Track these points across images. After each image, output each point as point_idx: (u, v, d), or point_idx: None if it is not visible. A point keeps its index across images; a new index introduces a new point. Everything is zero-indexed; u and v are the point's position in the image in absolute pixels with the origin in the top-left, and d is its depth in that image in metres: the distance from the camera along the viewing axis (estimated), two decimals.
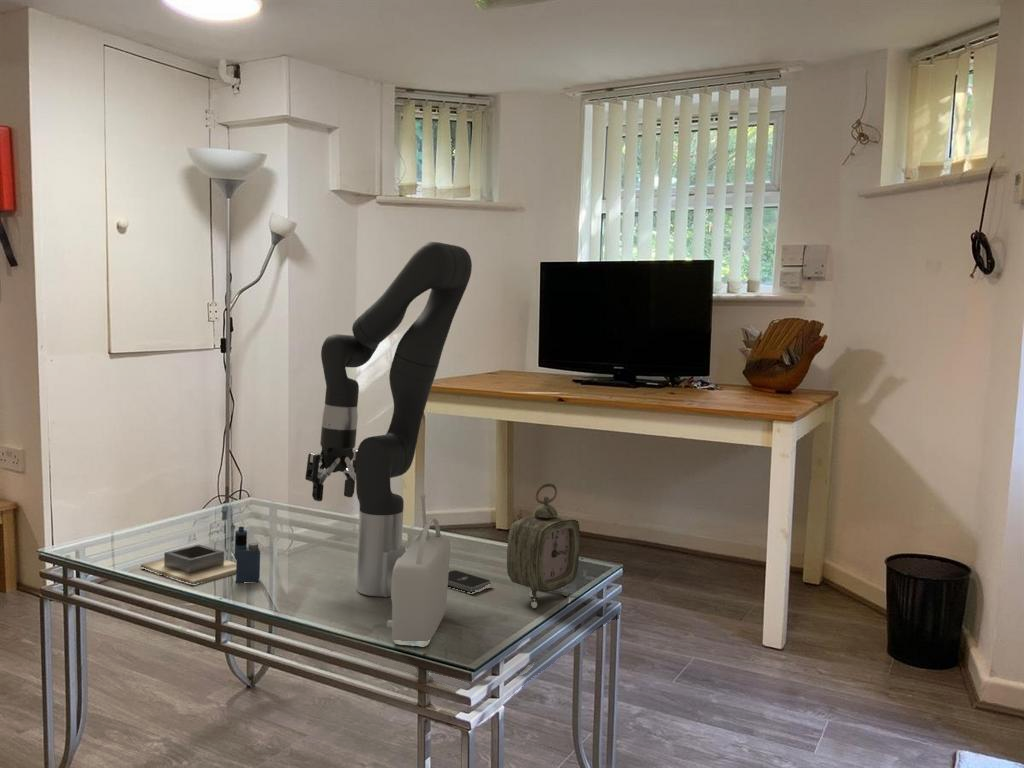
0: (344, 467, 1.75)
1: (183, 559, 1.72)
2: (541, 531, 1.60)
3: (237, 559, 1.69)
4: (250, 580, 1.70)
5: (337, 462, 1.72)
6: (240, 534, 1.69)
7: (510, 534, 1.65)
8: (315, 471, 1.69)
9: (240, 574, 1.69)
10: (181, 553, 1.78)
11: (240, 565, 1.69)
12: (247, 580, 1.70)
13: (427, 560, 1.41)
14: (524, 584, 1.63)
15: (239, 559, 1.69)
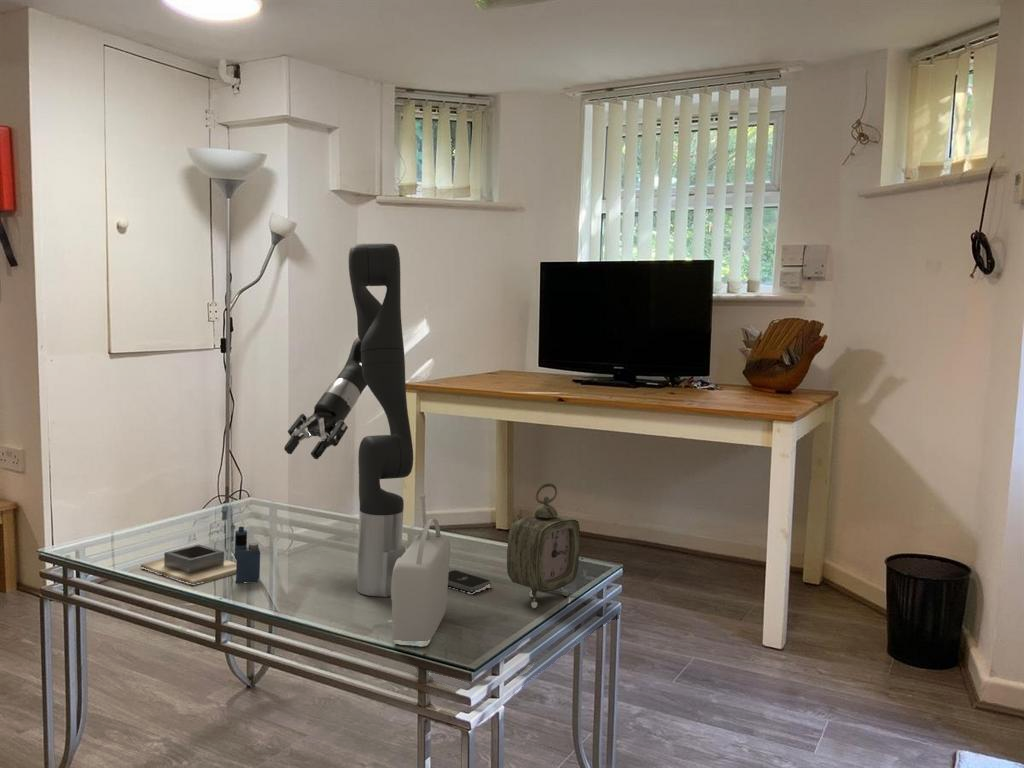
0: (319, 428, 1.84)
1: (183, 559, 1.72)
2: (541, 531, 1.60)
3: (237, 559, 1.69)
4: (250, 580, 1.70)
5: (312, 420, 1.85)
6: (240, 534, 1.69)
7: (510, 534, 1.65)
8: (294, 425, 1.88)
9: (240, 574, 1.69)
10: (181, 553, 1.78)
11: (240, 565, 1.69)
12: (247, 580, 1.70)
13: (426, 560, 1.41)
14: (524, 584, 1.63)
15: (239, 559, 1.69)
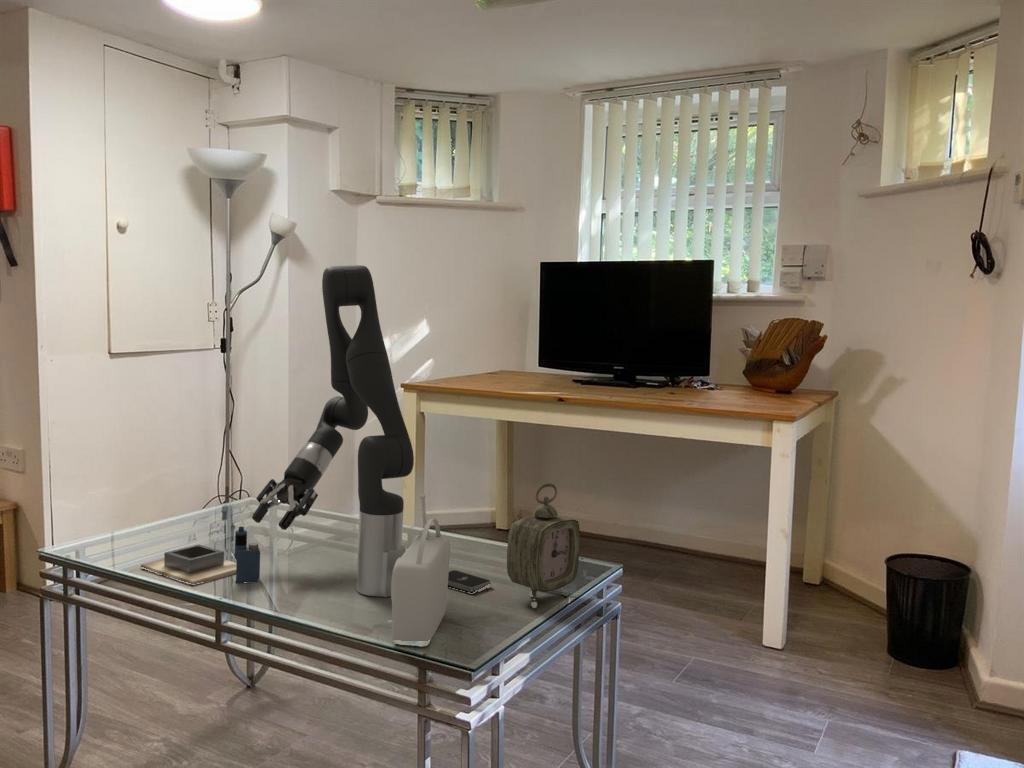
0: (288, 496, 1.77)
1: (183, 559, 1.72)
2: (541, 531, 1.60)
3: (237, 559, 1.69)
4: (250, 580, 1.70)
5: (281, 487, 1.79)
6: (240, 534, 1.69)
7: (510, 534, 1.65)
8: (263, 491, 1.81)
9: (240, 574, 1.69)
10: (181, 553, 1.78)
11: (240, 565, 1.69)
12: (247, 580, 1.70)
13: (427, 560, 1.41)
14: (524, 584, 1.63)
15: (239, 559, 1.69)
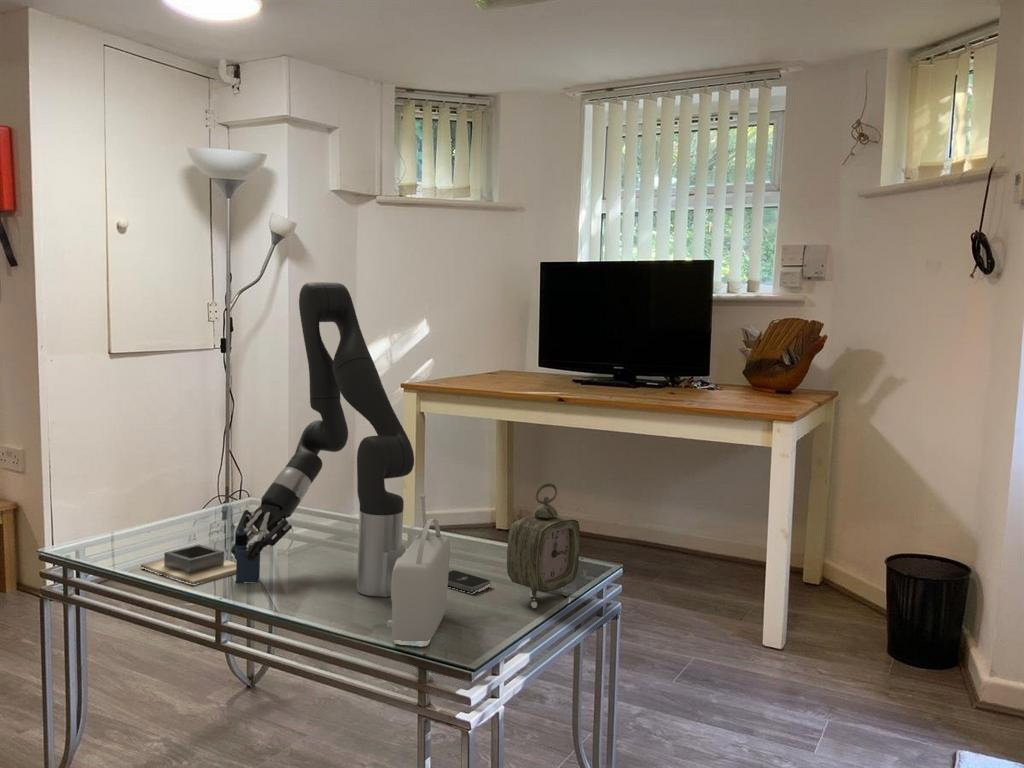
0: None
1: (183, 559, 1.72)
2: (541, 531, 1.60)
3: (237, 559, 1.69)
4: (250, 580, 1.70)
5: (258, 513, 1.74)
6: (240, 534, 1.69)
7: (510, 534, 1.65)
8: (240, 523, 1.75)
9: (240, 574, 1.69)
10: (181, 553, 1.78)
11: (240, 565, 1.69)
12: (247, 580, 1.70)
13: (426, 560, 1.41)
14: (524, 584, 1.63)
15: (239, 559, 1.69)
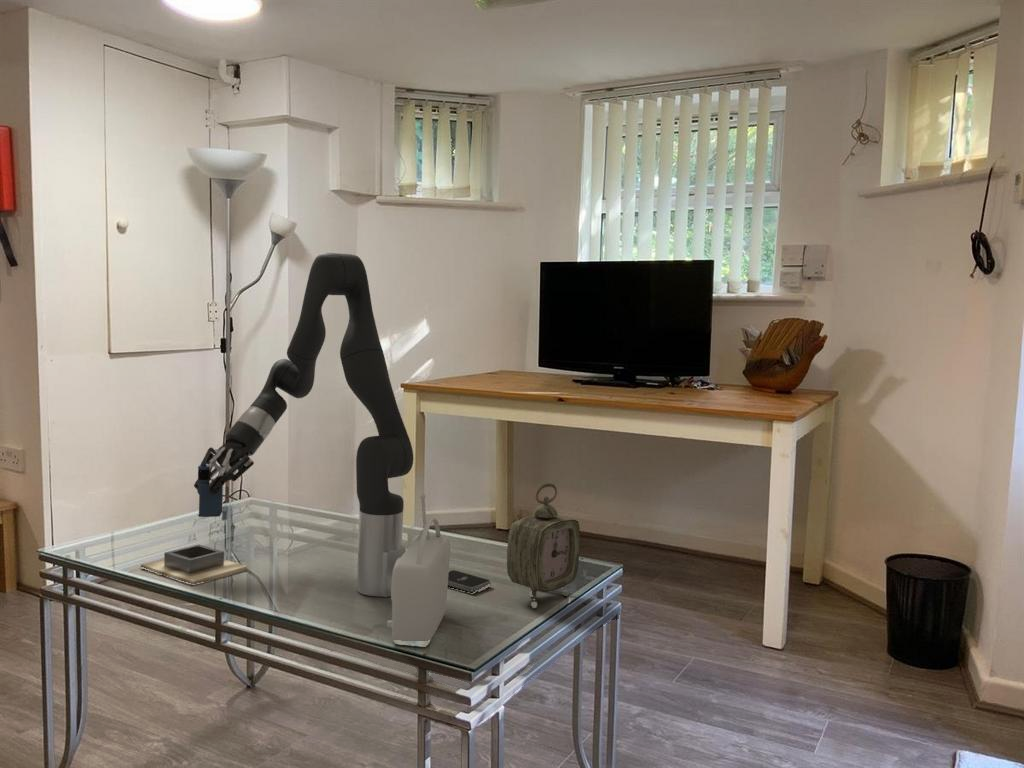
0: None
1: (183, 559, 1.72)
2: (541, 531, 1.60)
3: (200, 493, 1.73)
4: (212, 514, 1.75)
5: (221, 450, 1.78)
6: (202, 469, 1.73)
7: (510, 534, 1.65)
8: (204, 459, 1.79)
9: (202, 507, 1.74)
10: (181, 553, 1.78)
11: (202, 499, 1.74)
12: (209, 514, 1.74)
13: (426, 560, 1.41)
14: (524, 584, 1.63)
15: (201, 493, 1.73)
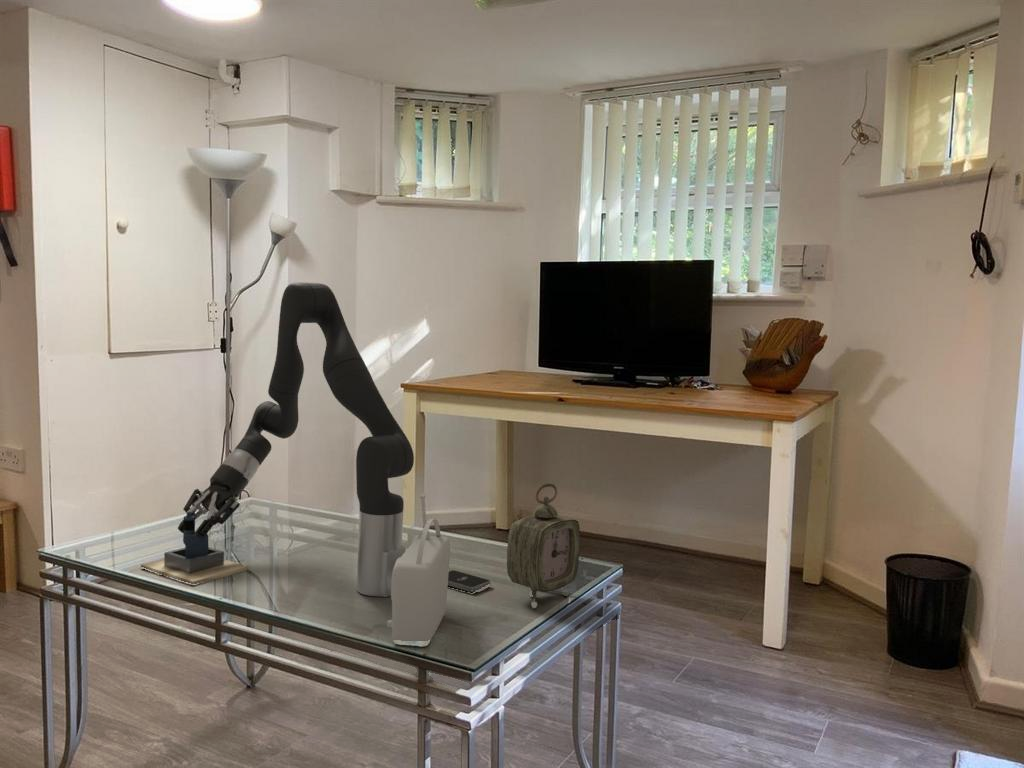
0: None
1: (183, 559, 1.72)
2: (541, 531, 1.60)
3: (186, 543, 1.75)
4: None
5: (206, 493, 1.80)
6: (188, 519, 1.75)
7: (510, 534, 1.65)
8: (189, 501, 1.81)
9: (189, 557, 1.75)
10: (181, 553, 1.78)
11: (189, 549, 1.75)
12: None
13: (426, 560, 1.41)
14: (524, 584, 1.63)
15: (188, 543, 1.75)
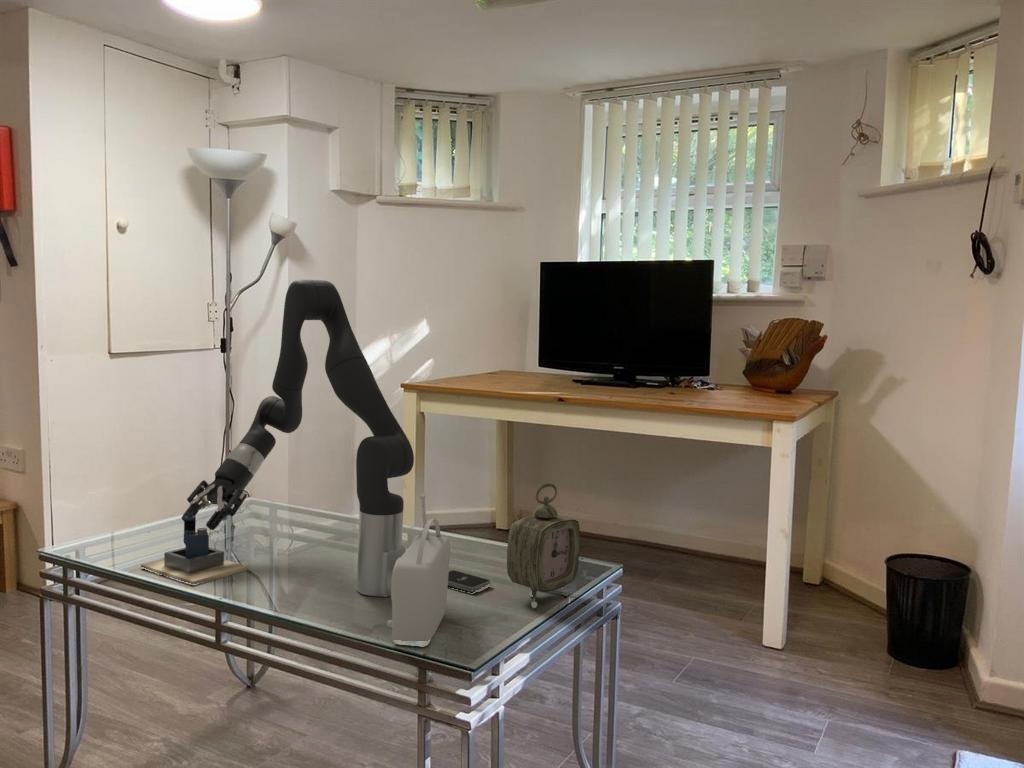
0: (217, 497, 1.79)
1: (183, 559, 1.72)
2: (541, 531, 1.60)
3: (186, 543, 1.75)
4: None
5: (211, 487, 1.81)
6: (189, 519, 1.75)
7: (510, 534, 1.65)
8: (193, 492, 1.83)
9: (189, 557, 1.75)
10: (181, 553, 1.78)
11: (189, 549, 1.75)
12: None
13: (426, 560, 1.41)
14: (524, 584, 1.63)
15: (188, 543, 1.75)
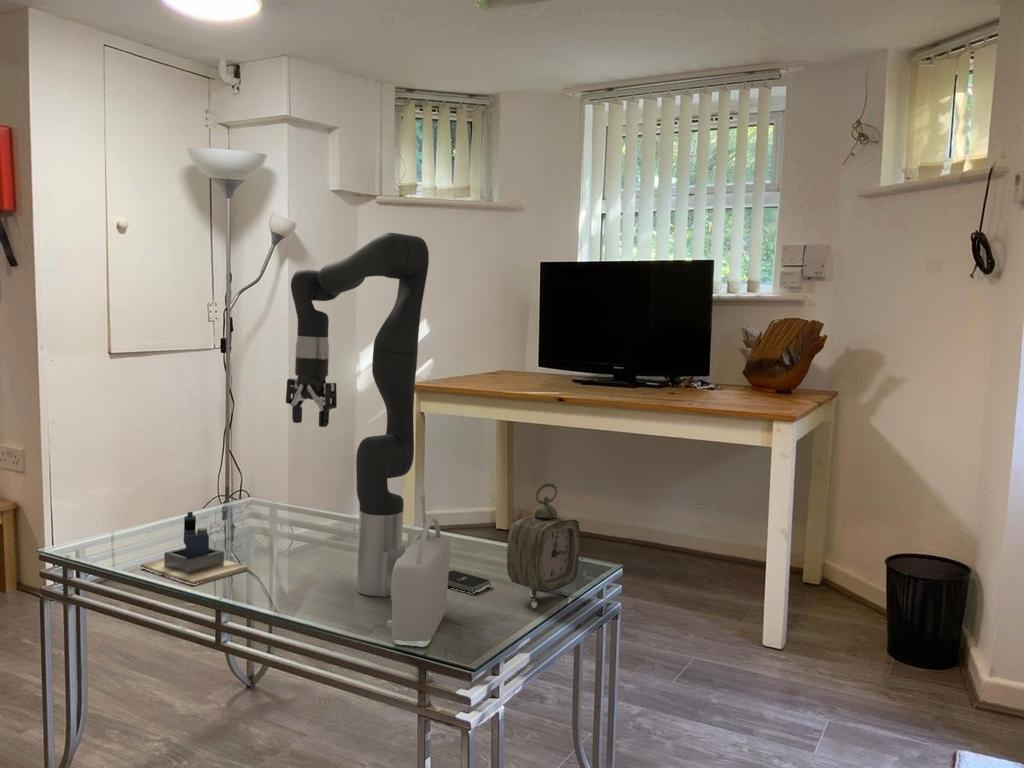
0: None
1: (183, 559, 1.72)
2: (541, 531, 1.60)
3: (186, 543, 1.75)
4: None
5: (300, 388, 1.86)
6: (189, 519, 1.75)
7: (510, 534, 1.65)
8: (287, 393, 1.89)
9: (189, 557, 1.76)
10: (181, 553, 1.78)
11: (189, 549, 1.75)
12: None
13: (426, 560, 1.41)
14: (524, 584, 1.63)
15: (188, 543, 1.75)
